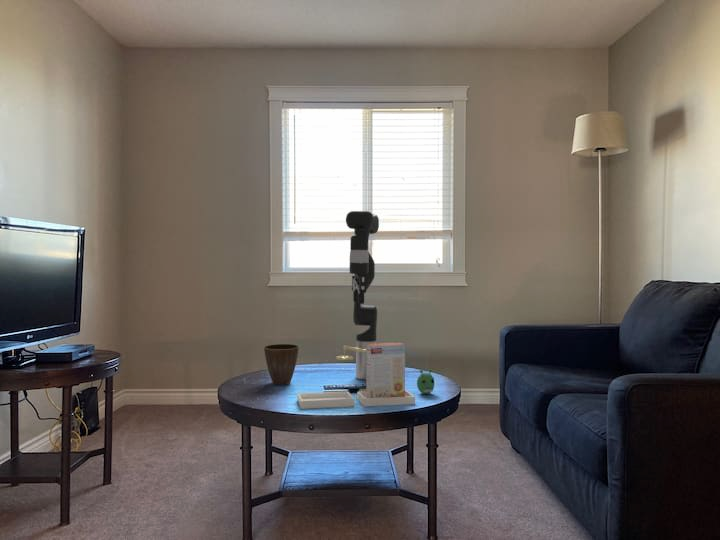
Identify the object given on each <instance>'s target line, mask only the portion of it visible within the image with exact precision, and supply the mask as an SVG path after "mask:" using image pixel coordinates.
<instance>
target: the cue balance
mask: <svg viewBox="0 0 720 540" xmlns="http://www.w3.org/2000/svg"><path fill="white" fill-rule="evenodd" d="M342 348H343V355H337V356H335V360H336V361H337V360H338V361H352V360H354V356H351V355H346V350H349V351H353V352H356V351H359V352H364V353H366V350H365V349H360V348H356V347H354V346H349V345H343V346H342ZM358 389H359V390H358V392H359V391H366V388H358Z"/></svg>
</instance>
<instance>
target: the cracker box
mask: <svg viewBox="0 0 720 540" xmlns="http://www.w3.org/2000/svg"><path fill="white" fill-rule="evenodd" d="M365 380H366V381H365V382H366V388H365V389H366V398H388V397H405V390H406V345H405V343H402V342H380V343H379V342H378V343H377V342H376V344H366V379H365Z"/></svg>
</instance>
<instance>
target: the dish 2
mask: <svg viewBox="0 0 720 540" xmlns="http://www.w3.org/2000/svg"><path fill="white" fill-rule="evenodd" d="M356 398H357V400H358V401H359V402H360V404H361V405H362V406H363V407H379V406H380V407H382V406H401V405H402V406H403V405H405V406H406V405H416V396H415V395H413V394H412V393H411V392H410V391H408V390H407V389H405V397H388V398H366V391H359V390H358V391H357V395H356Z"/></svg>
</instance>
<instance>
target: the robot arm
mask: <svg viewBox="0 0 720 540" xmlns="http://www.w3.org/2000/svg"><path fill="white" fill-rule="evenodd" d="M379 221H380V219H379V216H378V215H377V214H376V213H372V212H371V211H370V210H350V211H349V212H348V213H347V214H346V217H345V223H346V226H347V227H348V228H349V229H351V230H354V231H353V233H354V235H351V237H350V241H349V242H350V246H349V247H350V252H349V274H351V275H352V276H351V291H352V294H353V295H352V296H353V298H352V299H353V300H352V301H353V323H354V325H355V326H366V327H367V326H369V327H368V328H367V329H366V330H364V331H361V332H358V333H357V334H356V335H355V336H356V337H355V340H356V341H355V344H356V347H355V348H360V349H365V350H366V344H376V343H377V324H378V323H377V321H378V309H377V306H375V305H364V304H365V294H367V290H368V288H369V287H370V286H371V284H372V283H373V282H374V279H375V274H376V273H375V272H376V271H375V269H376V268H375V260H374V258H373V257H372V255H371V253H370V252H369V238H370V235H374V234H376V233H377V232H378V231H379V227H380V222H379ZM353 274H354V275H353ZM362 304H363V305H362ZM355 355H356V356H355V361H356V362H355V379H358V380H366V353H364V352H359V351H355Z"/></svg>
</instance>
